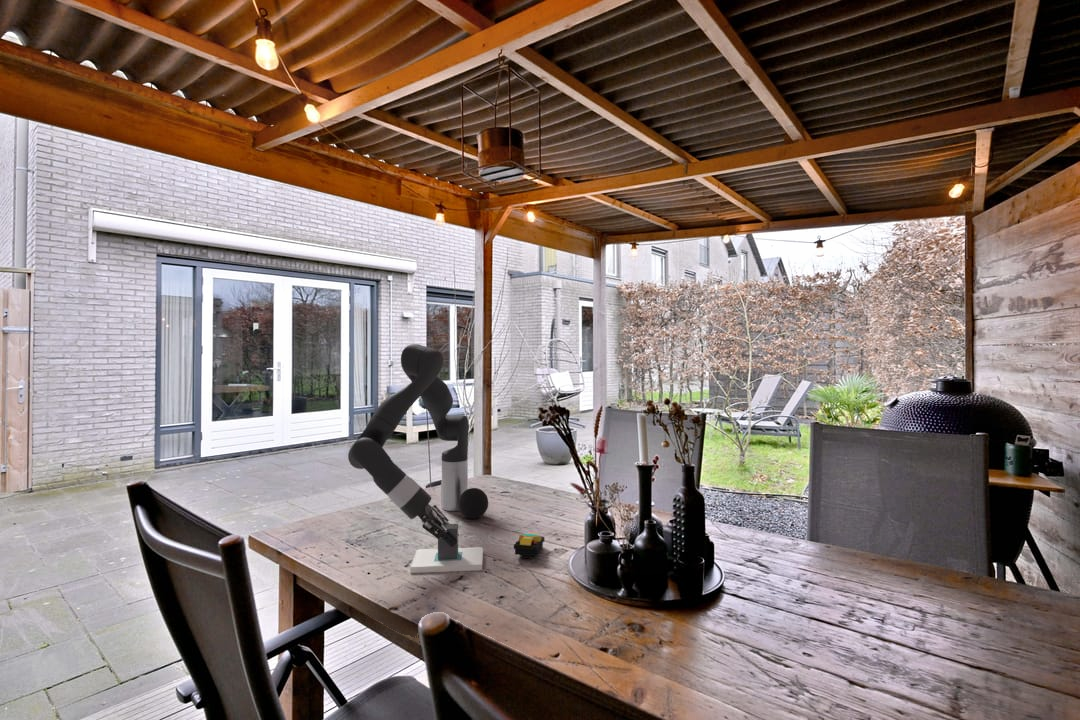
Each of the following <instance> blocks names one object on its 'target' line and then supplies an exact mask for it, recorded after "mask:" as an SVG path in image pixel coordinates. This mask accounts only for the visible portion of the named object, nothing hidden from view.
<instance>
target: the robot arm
mask: <svg viewBox="0 0 1080 720" xmlns="http://www.w3.org/2000/svg"><path fill="white" fill-rule="evenodd" d="M400 364H401V365H400V366H401V369H402V370H403V372H404V374H405V375H406V376H407V378H408V379H409V380H410V383H409V384H407V386H405V387H403V388H401V389H400V390H397V392H395V393H393V394H391V395H390V396H388V397H387V398H386V399H384V400H383V401H382V402H381V403H380V404H379V406H378V407H377V409H376V410H375V412H374V413H373V414H372V416H371V418H370V419H369V421H368V423H367V425H366V427H365V429H364V430H363V431H362V432H361V434H360V435H359V436H358V438H357V439H356V441H354V443H353V444H352V446H351V447H350V449H349V450H348V454H347V458H348V462H349V464H350V465H351V466H352V467H353V468H355V469H359V470H363V469H364V470H365V471H366V472H367V473H369V475H370V476H371V477H372V479H373V482H374V483H375V485H376V486H377V487H378V488H379V489H380V490H381V491H382V492H383V493H384V494H385V495H387V497H388V498H389V499H390V500H391V502H392V503H393V504H394V505H395V506H396V507H398V509H400V510H401V512H403V513H404V514H405V515H406V517H408V518H409V519H410V520H414V519H416V517H418V518H420V520H421V523H422V525H421V526H422V528H423V529H424V530H426V532H428V533H429V534H430V535H432V536H434V537H435V538H436V539H437V540H438V539H439V538H443V539H444V540H445V541H446V542H447V543H448V544H449V545H450V546H451V547H453V546H454V545H455V544H456V543H457V541H458V542H459V539H458V540H457V539H456V538H455V537H454V536H453V535H452V534H451V533H450V532H449V531H448V530H447V529H446V528H445V527H444V526H443V524H450V522H449V518H447V517H446V515H445V514H444V513H443V511H441V509H442V510H444V511H448V512H449V511H450V512H455V511H456V512H457V511H460V509H459V505H458V502H459V498H460V496H461V494H462V493H463V492H464V491H466V490H467V489H469V480H468V478H469V477H468V474H469V472H468V471H469V468H468V465H469V463H468V458H469V457H468V455H469V451H468V450H469V428H470V427H469V426H470V425H469V424H470V423H469V419H468V417H467V416H466V415H464V414H449V412H450V411H451V409H452V407H453V405H454V404H453V403H454V398H453V396H452V393H451V391H450V388H449V386H448V384H446V382H445V381H443V379H441V378H440V377H439V374H440V372H441V370H442V368H443V365H444V356H443V353H442V352H441V351H440V350H438V349H435V348H432V347H428V346H425V345H422V344H418V343H412V344H407V345H406V346H405V347H404V348H403V350H402V351H401V355H400ZM419 398H421V401H422V403H423V405H424V407H425V409H426V410H427V412H428V414H429V415H430V418H431V419H432V422H433V425H434V428H435V431H436V434H437V437H438V438H439V439H440V440H441V441H444V442H445V441H446V442H457V445H456V446H454V447H453V448H449V449H446V450H444V451H443V452H442V453H441V479H440V480H441V481H440V504H441V505H440V507H441V509H439V507H438V506H437V505H436V504H434V505H433V506H432V505H430V502H431V501H432V496H431V495H430V494H429V493H428V492H427V491H425V489H424V488H423V487H421V485H420V484H419V483H417V482H416V481H415V480H414V479H413V478H412V477H410V476H409V475H407V473H406V472H404V471H403V469H401V468H400V467H399V466H398V465H397V464H396V463H394V461H393V460H392V458H391V457H390V456H389V454H388V453H387V451H386V450H385V449H384V448H383V447H384V445H385V444H386V442H387V441H388V439H389V438H390V437H391V436H392V435H393V433H394V432H395V430H396V429H397V427H398V425H399V424H400V423H401V421H402V420H403V418H404V416H405V415H406V414H407V412H408V411H409V410H410V409H411V407H412V406H413V405H414V403H416V401H417V400H418V399H419ZM438 530H440V532H438ZM459 536H460V533H458V537H459Z"/></svg>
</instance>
